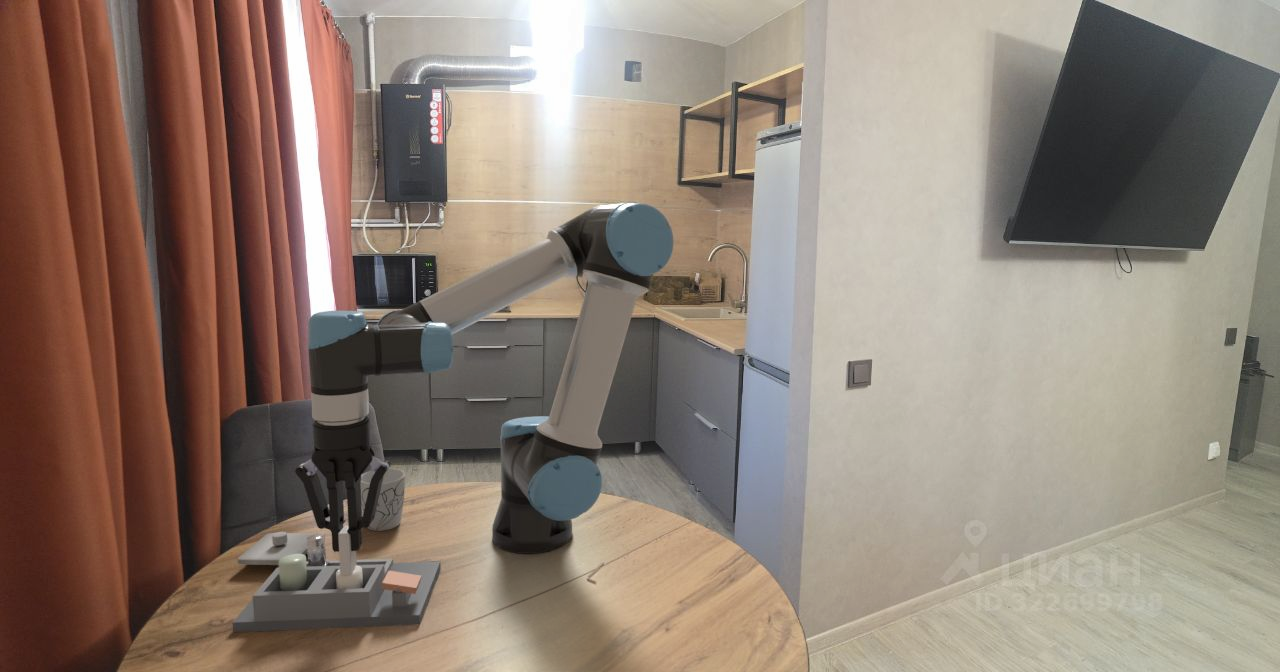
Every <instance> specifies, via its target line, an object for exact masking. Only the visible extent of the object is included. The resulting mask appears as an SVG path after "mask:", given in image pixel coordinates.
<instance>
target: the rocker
mask: <svg viewBox="0 0 1280 672" xmlns="http://www.w3.org/2000/svg"><path fill="white" fill-rule="evenodd" d="M420 581H421V575H414V574H408V573H402V572H395V571H388V573H387V575H386V577H385V579H384V580H383V582H382V587H381V589H385V590H391V591H395V592H396V593H397V594H399V593H400V592H404V593H411V594H415V593H416V591H417V588H418V586H419V584H420Z"/></svg>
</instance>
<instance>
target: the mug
mask: <svg viewBox="0 0 1280 672" xmlns="http://www.w3.org/2000/svg"><path fill="white" fill-rule="evenodd" d="M372 477H373V474H371V470H369V471H366V472H363V474H362V475H361V483H360V484H361V506H362V514H363V513H364V509H365V504H366V500H367V495H368V491H369V486H370V482H371V479H372ZM405 482H406V474H405V472H404V471H403V470H401V469H398V468H390V467H389V469H388V470H387V472H386V473H385V475H384V477H383V481H382V486H381V490H380V495H379V499H378V504H377V508H376V513H375V517H374V519H373V521H372V522H371V524H370V525H369V527H367V529H369V530H370V531H374V532H384V531H389V530H393V529H394V528H396V527H398V526H399V525H400V524H401V520H402V515H403V509H404V503H405V502H404V501H405V491H406V490H405V488H406V487H405V485H406V483H405Z"/></svg>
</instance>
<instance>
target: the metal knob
mask: <svg viewBox="0 0 1280 672" xmlns="http://www.w3.org/2000/svg"><path fill="white" fill-rule="evenodd" d="M313 534H314V535H311V536H309V537H307V552H308V553H307V561H308V567H312V566H330V564H329V562H326V561H327V557H326V555H327V554H326V539H325V537H326V536H325V534H323V533H313Z"/></svg>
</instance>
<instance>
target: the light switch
mask: <svg viewBox="0 0 1280 672" xmlns="http://www.w3.org/2000/svg"><path fill="white" fill-rule="evenodd" d="M314 534H315V533H301V532H300V533H294V532H293V533H291V532H290V533H288V532H286V531H278V532H269V533H266V534H264V535H263V537H261V538H260V539H259V540H258V541H256V542H255V543H254V544H253V545H252V546H251V547H249V548H248V549H247V550H246V551H245V552H243V553H242V554H241V555H240V556H239V557H237V564H238V565H251V566H253V565H254V566H255V565H256V566H259V565H261V566H267V565H269V566H279V560H280V559H281V558H283V557H285V556H287V555H291V554H303V555H305V556H306V555H308V552H307V537H309V536H311V535H314Z"/></svg>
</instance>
